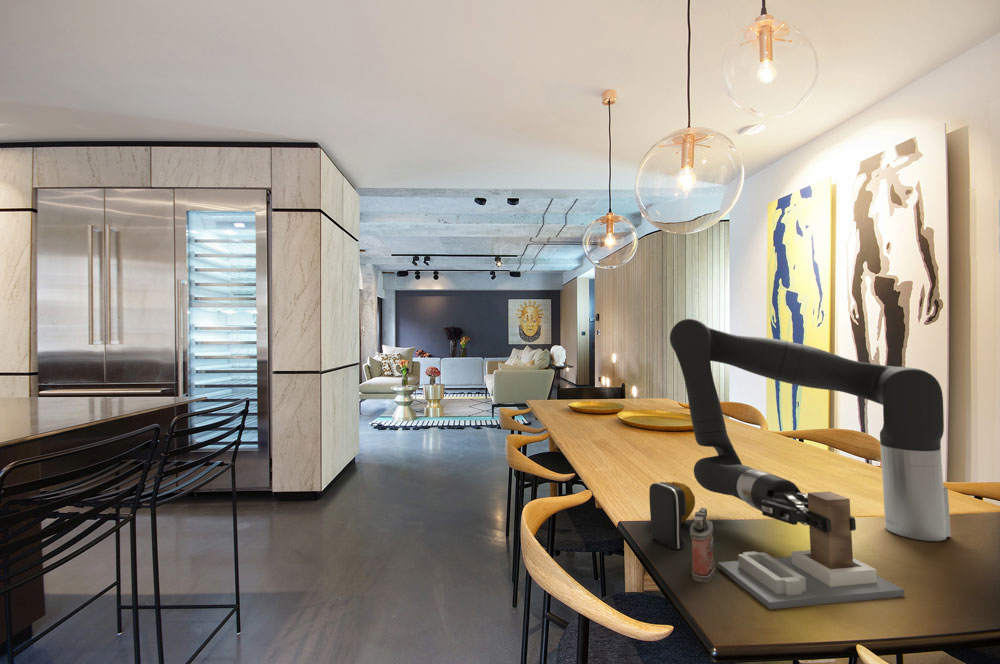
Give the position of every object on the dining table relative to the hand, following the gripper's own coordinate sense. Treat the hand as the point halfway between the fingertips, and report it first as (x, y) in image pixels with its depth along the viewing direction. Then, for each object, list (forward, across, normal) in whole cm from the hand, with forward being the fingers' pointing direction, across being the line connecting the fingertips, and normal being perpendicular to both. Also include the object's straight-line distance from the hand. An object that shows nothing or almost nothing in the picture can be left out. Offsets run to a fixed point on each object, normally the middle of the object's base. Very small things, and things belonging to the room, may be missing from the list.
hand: (841, 525), depth 74 cm
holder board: (-2, -5, +10) cm, 11 cm away
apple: (-30, -13, +10) cm, 34 cm away
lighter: (-8, -19, +10) cm, 23 cm away
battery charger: (-20, -19, +10) cm, 29 cm away
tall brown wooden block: (-2, 0, +7) cm, 7 cm away
